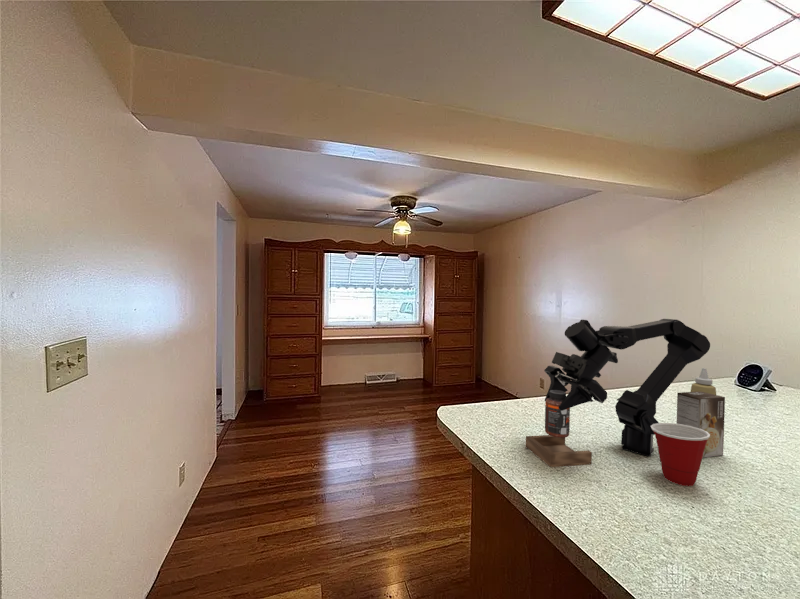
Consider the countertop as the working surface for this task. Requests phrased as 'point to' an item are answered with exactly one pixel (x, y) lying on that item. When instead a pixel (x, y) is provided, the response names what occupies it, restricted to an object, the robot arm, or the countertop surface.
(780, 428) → the countertop surface
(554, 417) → the supplement bottle
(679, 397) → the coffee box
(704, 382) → the squeeze bottle
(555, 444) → the tray
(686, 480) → the plastic cup
